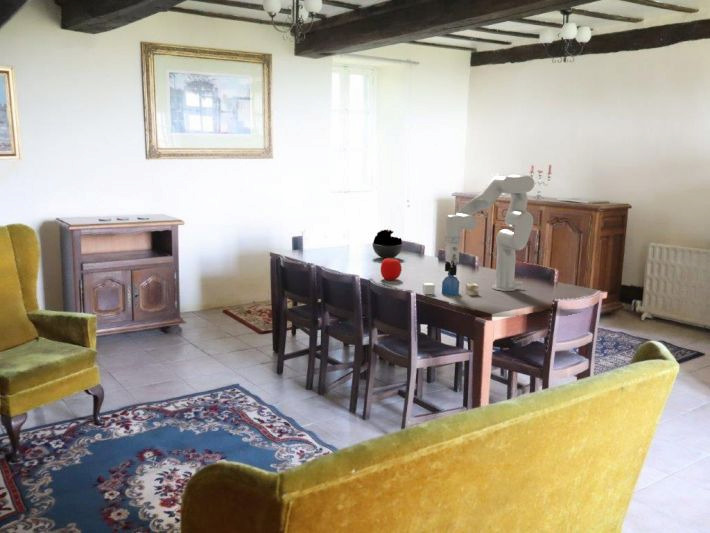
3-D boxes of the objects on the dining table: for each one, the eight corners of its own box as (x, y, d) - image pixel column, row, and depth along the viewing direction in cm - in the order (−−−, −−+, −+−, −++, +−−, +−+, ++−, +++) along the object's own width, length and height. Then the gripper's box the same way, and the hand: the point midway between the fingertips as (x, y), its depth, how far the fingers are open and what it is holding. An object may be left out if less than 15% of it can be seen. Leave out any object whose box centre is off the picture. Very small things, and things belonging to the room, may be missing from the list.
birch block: (475, 292, 327) (475, 283, 326) (478, 295, 322) (478, 285, 321) (465, 293, 327) (466, 283, 326) (468, 295, 322) (468, 285, 321)
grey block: (432, 292, 327) (432, 282, 326) (434, 294, 322) (434, 285, 321) (422, 292, 326) (423, 282, 325) (424, 294, 321) (425, 285, 320)
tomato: (383, 276, 362) (384, 254, 360) (403, 278, 358) (404, 256, 356) (377, 281, 351) (377, 258, 348) (397, 282, 347) (398, 260, 344)
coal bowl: (389, 255, 433) (390, 227, 429) (408, 259, 417) (409, 231, 413) (366, 257, 421) (366, 229, 418) (384, 262, 405) (385, 233, 402)
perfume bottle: (448, 291, 329) (449, 268, 326) (458, 293, 325) (459, 270, 322) (441, 293, 324) (442, 270, 322) (452, 295, 320) (453, 272, 318)
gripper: (464, 242, 311) (462, 276, 314) (455, 237, 328) (453, 270, 331) (449, 242, 310) (447, 276, 313) (441, 237, 327) (439, 269, 330)
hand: (450, 273), depth 322 cm, fingers open, 9 cm apart
